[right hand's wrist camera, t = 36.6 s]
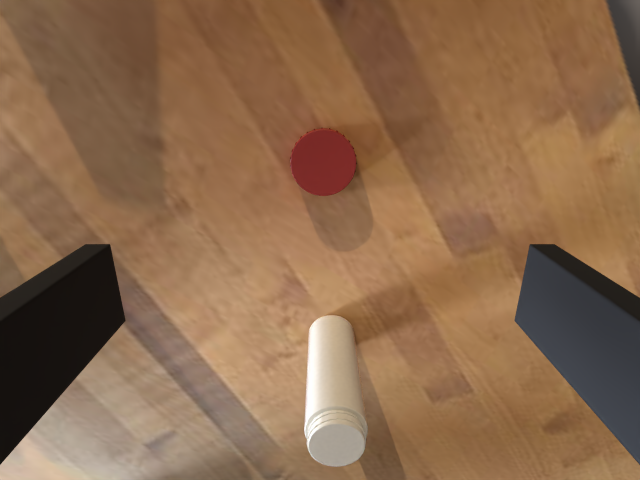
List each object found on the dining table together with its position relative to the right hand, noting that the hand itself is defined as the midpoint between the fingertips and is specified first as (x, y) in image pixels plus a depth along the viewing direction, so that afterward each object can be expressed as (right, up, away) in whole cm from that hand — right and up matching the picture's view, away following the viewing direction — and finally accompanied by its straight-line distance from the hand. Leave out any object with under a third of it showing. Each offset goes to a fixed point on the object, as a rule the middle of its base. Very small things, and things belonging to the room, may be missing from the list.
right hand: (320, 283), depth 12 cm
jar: (+1, -9, +31) cm, 32 cm away
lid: (0, +8, +23) cm, 25 cm away
